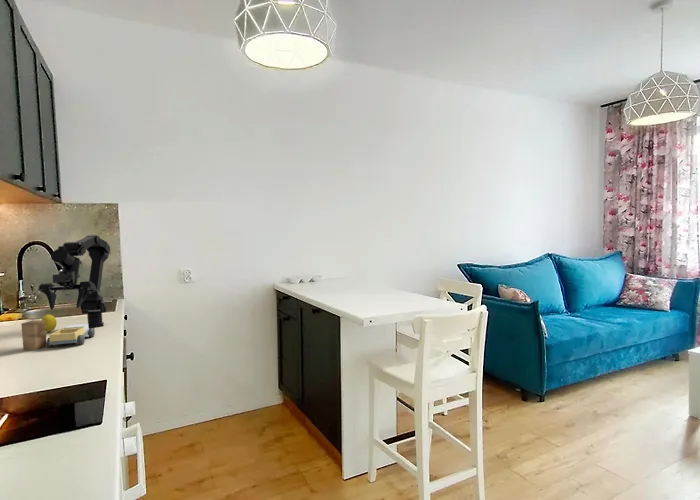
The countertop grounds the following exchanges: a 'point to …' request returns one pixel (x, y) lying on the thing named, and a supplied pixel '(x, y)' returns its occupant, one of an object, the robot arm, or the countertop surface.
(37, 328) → the walnut block
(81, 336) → the toy chassis
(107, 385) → the countertop surface
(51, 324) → the lemon
